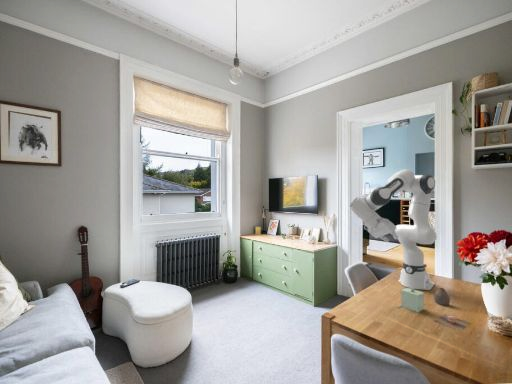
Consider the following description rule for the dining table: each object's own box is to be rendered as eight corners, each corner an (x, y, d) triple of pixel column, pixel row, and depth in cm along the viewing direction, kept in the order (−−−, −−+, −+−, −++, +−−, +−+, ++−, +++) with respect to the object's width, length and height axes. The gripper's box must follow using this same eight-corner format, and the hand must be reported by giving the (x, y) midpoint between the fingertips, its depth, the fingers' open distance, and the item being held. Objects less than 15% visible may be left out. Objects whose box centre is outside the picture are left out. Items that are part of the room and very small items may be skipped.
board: (444, 316, 122) (444, 314, 122) (470, 325, 114) (470, 323, 114) (433, 323, 116) (433, 320, 116) (460, 333, 107) (460, 331, 107)
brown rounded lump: (452, 308, 130) (452, 291, 130) (437, 307, 132) (437, 290, 132) (445, 302, 137) (445, 286, 137) (431, 301, 138) (431, 285, 138)
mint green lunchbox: (407, 304, 134) (407, 285, 134) (423, 310, 127) (423, 290, 127) (401, 307, 131) (401, 287, 131) (418, 313, 124) (418, 292, 124)
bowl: (449, 319, 117) (449, 314, 117) (458, 322, 114) (458, 317, 114) (446, 321, 115) (446, 316, 115) (455, 324, 112) (455, 319, 112)
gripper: (386, 213, 135) (406, 232, 131) (369, 222, 154) (386, 239, 150) (378, 220, 133) (399, 240, 130) (362, 228, 152) (380, 246, 149)
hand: (392, 240), depth 140 cm, fingers open, 8 cm apart
